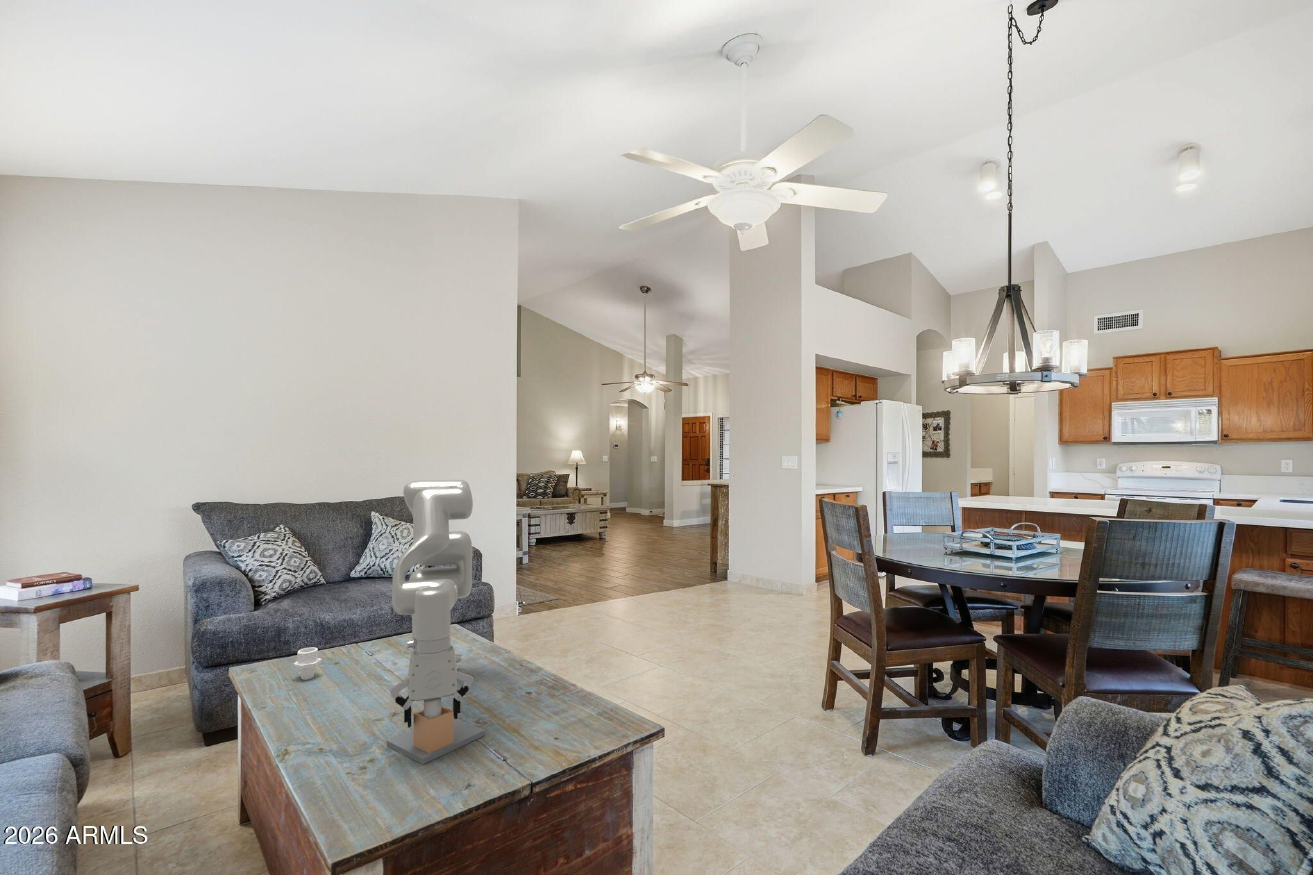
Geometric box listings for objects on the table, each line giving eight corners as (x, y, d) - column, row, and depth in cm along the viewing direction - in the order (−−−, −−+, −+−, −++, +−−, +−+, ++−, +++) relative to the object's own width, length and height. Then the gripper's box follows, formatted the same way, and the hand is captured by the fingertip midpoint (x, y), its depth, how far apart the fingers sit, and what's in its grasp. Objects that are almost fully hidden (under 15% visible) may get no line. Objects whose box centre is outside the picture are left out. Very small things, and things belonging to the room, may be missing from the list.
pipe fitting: (310, 672, 183) (310, 645, 183) (325, 675, 179) (325, 648, 180) (289, 679, 177) (289, 651, 177) (304, 683, 174) (304, 655, 174)
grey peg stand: (448, 719, 150) (448, 673, 150) (484, 735, 141) (484, 686, 142) (386, 745, 137) (386, 695, 137) (422, 764, 128) (422, 710, 129)
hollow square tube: (413, 745, 134) (413, 713, 134) (437, 735, 139) (437, 704, 139) (429, 753, 131) (429, 720, 131) (453, 742, 135) (453, 710, 136)
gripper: (390, 655, 128) (390, 736, 128) (475, 643, 135) (475, 720, 135) (390, 644, 135) (390, 720, 135) (470, 633, 142) (470, 706, 142)
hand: (432, 720), depth 135 cm, fingers open, 9 cm apart
